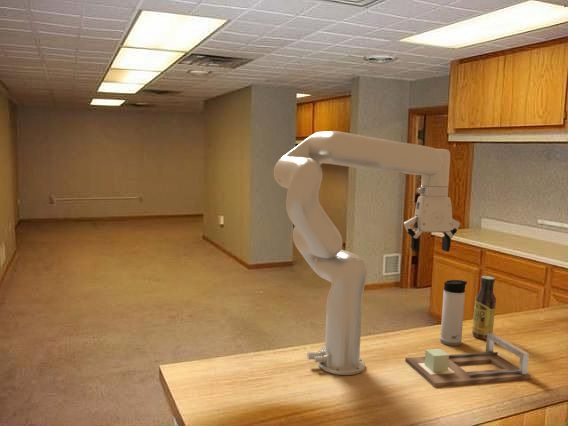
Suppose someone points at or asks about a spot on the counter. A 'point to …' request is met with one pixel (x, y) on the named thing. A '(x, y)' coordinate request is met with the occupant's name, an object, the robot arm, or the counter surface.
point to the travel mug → (452, 312)
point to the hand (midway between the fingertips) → (430, 251)
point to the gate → (514, 349)
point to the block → (436, 360)
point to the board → (462, 377)
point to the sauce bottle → (484, 309)
